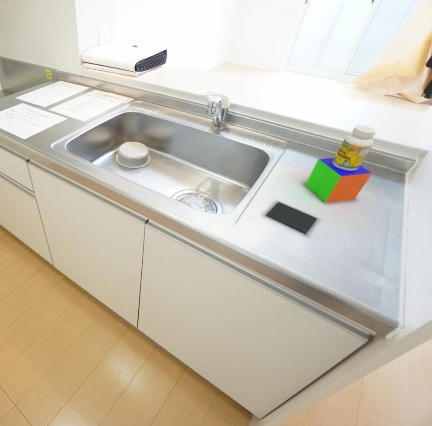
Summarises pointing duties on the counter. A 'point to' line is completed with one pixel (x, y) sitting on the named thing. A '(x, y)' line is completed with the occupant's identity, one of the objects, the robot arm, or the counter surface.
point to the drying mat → (291, 217)
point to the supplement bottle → (354, 148)
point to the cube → (336, 181)
